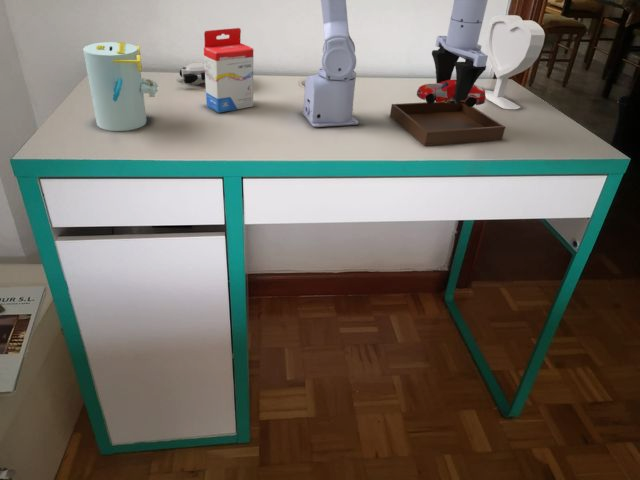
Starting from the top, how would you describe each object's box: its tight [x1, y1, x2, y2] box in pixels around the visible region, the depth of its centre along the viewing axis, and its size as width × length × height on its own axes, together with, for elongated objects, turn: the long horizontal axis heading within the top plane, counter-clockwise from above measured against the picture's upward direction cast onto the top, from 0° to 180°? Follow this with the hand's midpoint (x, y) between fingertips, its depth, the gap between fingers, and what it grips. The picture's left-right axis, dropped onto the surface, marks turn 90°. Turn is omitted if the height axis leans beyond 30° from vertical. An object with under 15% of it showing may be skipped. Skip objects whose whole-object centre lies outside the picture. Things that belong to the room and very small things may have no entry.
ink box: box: [203, 27, 254, 114], centre depth 102 cm, size 8×5×15 cm, turn 129°
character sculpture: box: [82, 41, 159, 132], centre depth 92 cm, size 20×12×13 cm, turn 17°
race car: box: [416, 78, 487, 107], centre depth 100 cm, size 13×5×4 cm, turn 86°
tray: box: [389, 101, 506, 147], centre depth 104 cm, size 17×15×3 cm
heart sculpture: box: [484, 14, 546, 110], centre depth 117 cm, size 16×5×18 cm, turn 18°
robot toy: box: [175, 62, 206, 86], centre depth 116 cm, size 12×4×15 cm
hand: (450, 94), depth 101 cm, fingers closed on race car, 6 cm apart
